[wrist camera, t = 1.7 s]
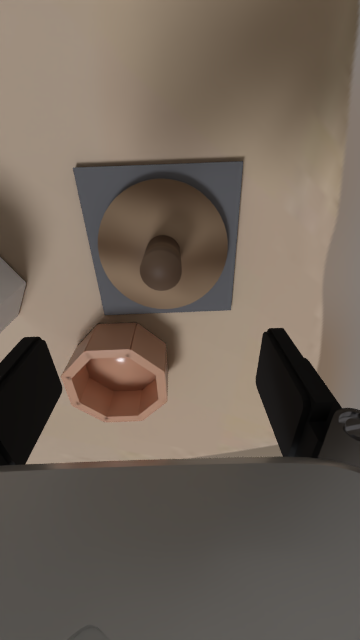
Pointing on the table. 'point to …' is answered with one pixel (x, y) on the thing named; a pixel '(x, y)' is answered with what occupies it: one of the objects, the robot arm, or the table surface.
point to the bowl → (118, 373)
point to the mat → (208, 178)
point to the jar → (9, 294)
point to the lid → (162, 243)
